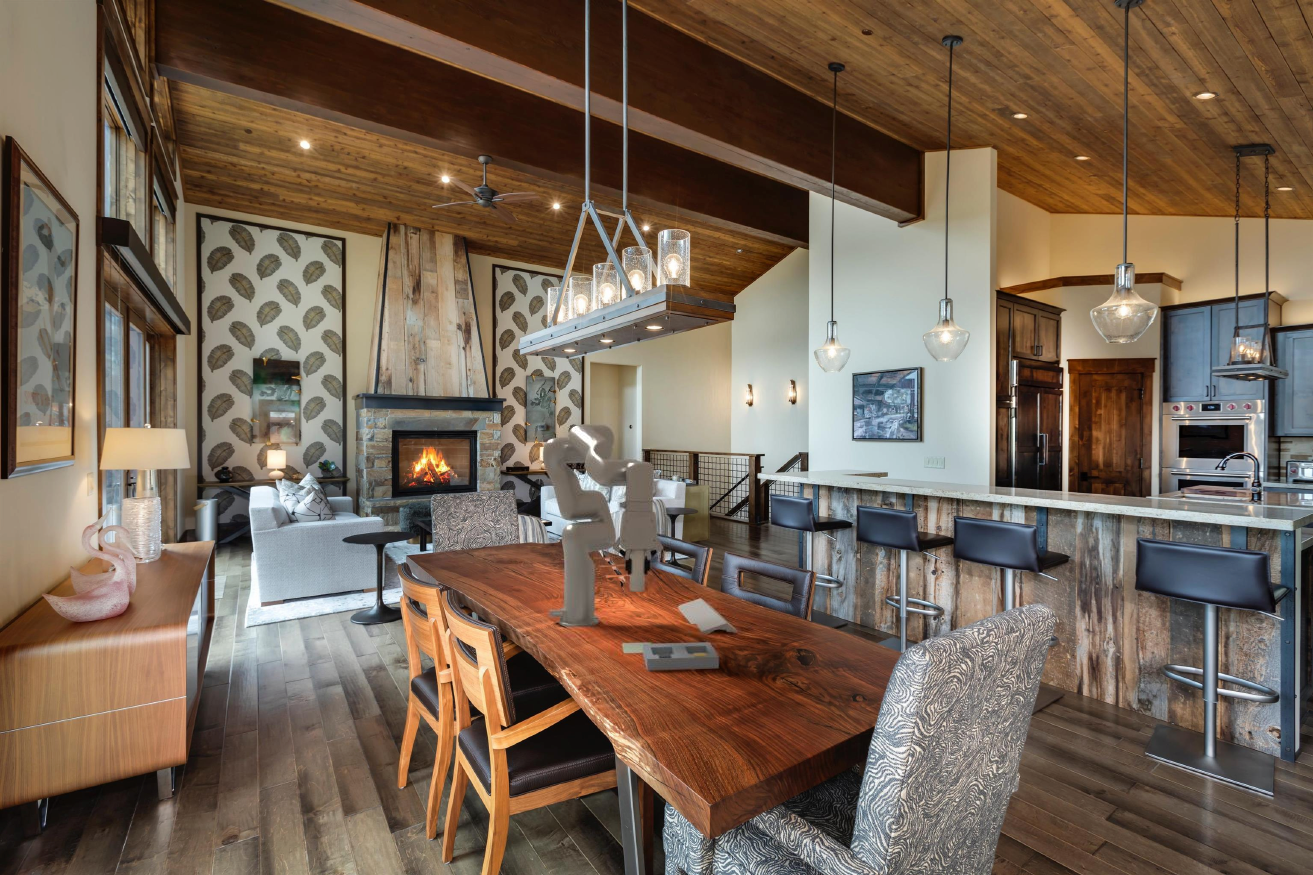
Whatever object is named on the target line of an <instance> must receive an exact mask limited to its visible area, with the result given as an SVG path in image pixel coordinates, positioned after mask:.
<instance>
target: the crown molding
mask: <svg viewBox="0 0 1313 875" xmlns="http://www.w3.org/2000/svg"><path fill="white" fill-rule="evenodd" d="M677 609H678V610H679V611H680V613H681V614H682V615H683V616H684V617H685V619H687V621H688V622H689V623H690V624H691V625H696V626H697V627H698V629H699V631H700V632H701V634H702V635H710V634H711V633H712V632H714V631H716V630H722V631H725V632H726V633H736V634H737V633H739V631H738V630H737V629H736V628H735V627H734V626H732V624H731V623H729V621H727V620H726V619H725V617H723V615H721V614H720V613H719V612H718V611H717V610H716V609H715V608H714V607H713V606H711V605H710V604H709V603H708V602H706V601H705V600H704V599H702V598H698V599H695V600H692V601H688V602H685V603H682V604H679V605H678V606H677Z"/></svg>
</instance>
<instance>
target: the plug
mask: <svg viewBox="0 0 1313 875" xmlns="http://www.w3.org/2000/svg"><path fill="white" fill-rule="evenodd" d="M645 556H646V552H645V550H631V553H630V560H631V574H630V575H629V591H630V592H635V593H640V592H643V591H645V578H646V577H645Z"/></svg>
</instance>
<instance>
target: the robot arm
mask: <svg viewBox="0 0 1313 875" xmlns="http://www.w3.org/2000/svg"><path fill="white" fill-rule="evenodd" d="M614 442H615V436H614V432H613V431H612V429H611V428H610V427H609V426H607V425H606V424H588V423H587V424H578V425H574V426H573V427H572V428H571V429H570V430H569V432H568V435H567V437H566V436H563V437H562V436H560V437H554V438H550V439H549V440H547V441H546V442H545V444H544V446H543V449H542V462H543V465H544V468H545V470H546V473H547V475H548V477H549V479H550V482H551V483H552V487H553V491H554V495H555V499H556V502H557V506H558V510H559V513H560V514H559V515H561V517H562V519H563V520H565V521H571V522H572V523H568V524H567V525H566V526H565V527H564V528H563V529H562V532H561V543H562V549H563V557H564V561H563V562H564V565H563V566H564V571H563V572H564V579H563V580H564V585H563V586H564V591H563V593H564V595H563V606H562V608H559V609H549V617H553V618H559V619H558V624H559V625H560V626H562V627H565V628H580V627H582V628H584V627H587V628H588V627H594V626H596V625H598V624H599V623H600V618H599V616H598V615H595V605H596V604H595V603H596V602H595V600H596V599H595V598H596V597H595V596H596V595H595V594H596V593H595V592H596V587H595V586H596V580H595V578H596V568H595V567H596V566H595V563H594V560H593V559H592V558H591V557H590V555H589V553H592V552H599V551H605V550H609V549H611V548H612V550H614V551H615V552H617V553H618V554H620V555H621V556H622V557H623V559H625V564H624V565H625V566H624V571H625V572H627V575H628V576H630V574H631V560H630V557H631V550H645V575H646V576H647V575H649V574H648V572H650V571H651V560H652V558H653V557H654V556H655V555H657V553H659V552H661V551H663V550H664V546H663V544H662V543H661V542H660V540H659V538H658V521H657V514H656V512H655V511H653V508H654V471H655V470H654V469H655V468H654V465H653V463H651V462H649V461H648V462H647V461H640V460H637V459H630V458H629V459H624V458H623V459H621V458H620V459H611V457H612V454H613V445H614V444H615V443H614ZM578 463H580V464H584V465H585V470H586V473H587V475H588V476H589V478H591V479H592V480H593V481H594V482H595V483H596V484H597V485H600V486H602V487H605V488H607V487H609V488H611V487H625V498H624V499H625V500H624V502H619V508H622V509H624V510H623V511H622V513H621V518H620V519H621V520H620V528H619V537H617V535H616V534H617V533H616V528H615V525H614V522H613V518H612V513H611V510H610V507H609V504H608V501H607V498H606V496H605V495H604V494H603V492H601V491H599V490H595V489H593V490H591V489H589V490H585V489H582V486H581V483H580V479H579V477H578V475H577V474H576V472H575V471H574V470H573V469H572V468H571V467H569V466H568V465H567V464H578ZM587 520H588V521H587ZM589 520H590V521H589ZM573 521H574V522H573ZM575 521H576V522H575Z"/></svg>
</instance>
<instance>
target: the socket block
mask: <svg viewBox="0 0 1313 875" xmlns="http://www.w3.org/2000/svg"><path fill="white" fill-rule="evenodd" d="M642 655H643V656H642V657H643V659H644V664H645V667H646V671H669V670H670V671H671V670H674V671H675V670H676V671H677V670H702V669H705V670H707V669H709V670H710V669H719V667H720V666H719V665H720V657H719V655H718V653H717V651H716V650H715V648H714V647H713V645H712V644H711V642H710V641H709V642H708V641H707V642H706V641H705V642H702V641H701V642H678V643H677V642H672V643H671V642H670V643H669V642H667V643H666V642H665V643H651V644H643V653H642Z"/></svg>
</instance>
